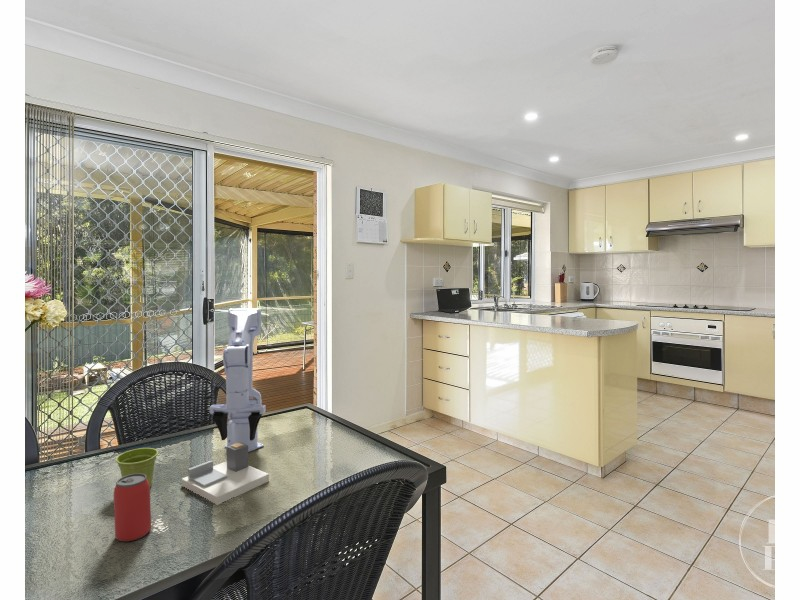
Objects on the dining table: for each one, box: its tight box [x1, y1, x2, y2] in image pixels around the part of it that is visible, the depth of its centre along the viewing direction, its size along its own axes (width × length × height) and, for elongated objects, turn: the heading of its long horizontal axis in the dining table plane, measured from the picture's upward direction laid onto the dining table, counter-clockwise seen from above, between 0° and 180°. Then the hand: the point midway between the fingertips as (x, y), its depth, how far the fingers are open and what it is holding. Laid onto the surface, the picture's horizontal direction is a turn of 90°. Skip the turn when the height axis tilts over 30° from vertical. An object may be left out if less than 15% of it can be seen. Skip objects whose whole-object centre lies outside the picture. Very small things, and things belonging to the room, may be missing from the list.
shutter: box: [187, 459, 227, 487], centre depth 116 cm, size 7×6×3 cm
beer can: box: [113, 473, 152, 543], centre depth 95 cm, size 7×7×12 cm
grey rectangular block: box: [225, 442, 250, 472], centre depth 122 cm, size 4×4×6 cm
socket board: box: [181, 460, 270, 506], centre depth 117 cm, size 16×15×2 cm
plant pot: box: [115, 447, 159, 488], centre depth 114 cm, size 9×9×9 cm
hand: (238, 439), depth 122 cm, fingers open, 7 cm apart
